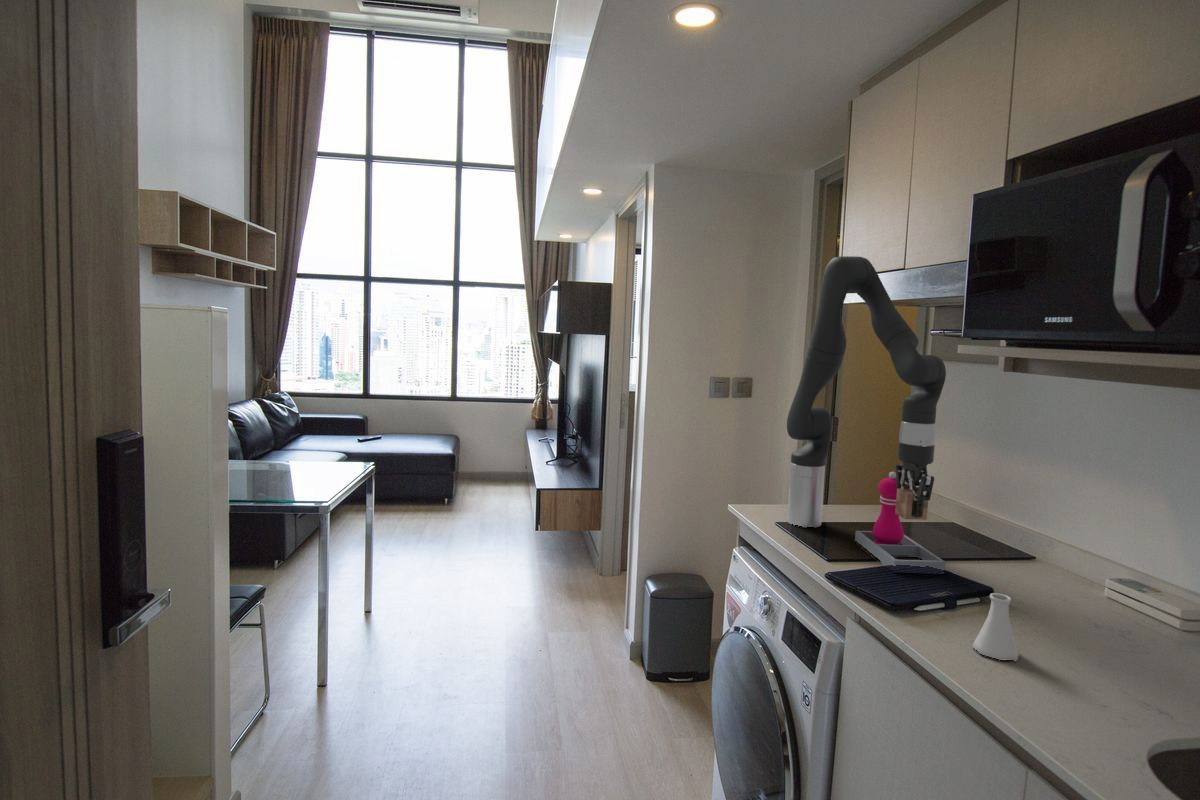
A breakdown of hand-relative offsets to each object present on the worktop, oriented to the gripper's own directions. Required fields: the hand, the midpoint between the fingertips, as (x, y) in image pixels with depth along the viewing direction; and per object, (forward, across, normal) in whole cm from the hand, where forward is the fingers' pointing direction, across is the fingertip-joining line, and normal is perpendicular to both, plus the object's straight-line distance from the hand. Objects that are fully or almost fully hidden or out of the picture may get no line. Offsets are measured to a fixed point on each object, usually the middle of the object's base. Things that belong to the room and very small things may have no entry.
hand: (911, 513), depth 156 cm
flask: (+13, +42, -5) cm, 45 cm away
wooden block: (+1, 0, 0) cm, 1 cm away
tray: (+12, -6, 0) cm, 14 cm away
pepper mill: (+13, -11, 0) cm, 17 cm away
